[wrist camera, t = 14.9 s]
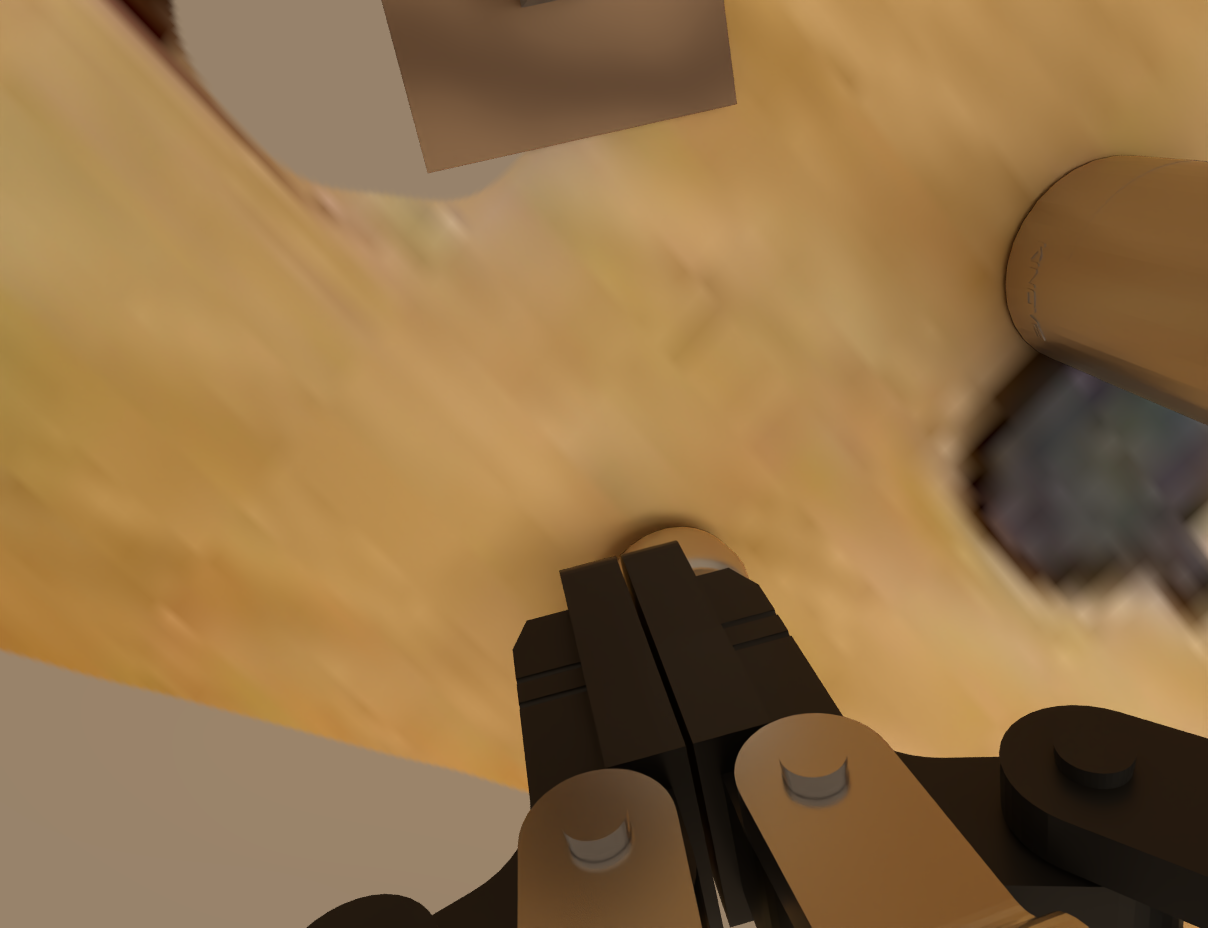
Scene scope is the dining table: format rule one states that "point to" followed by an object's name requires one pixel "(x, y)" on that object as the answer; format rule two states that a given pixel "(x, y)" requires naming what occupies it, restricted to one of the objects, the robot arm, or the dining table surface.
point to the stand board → (553, 70)
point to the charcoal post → (533, 2)
